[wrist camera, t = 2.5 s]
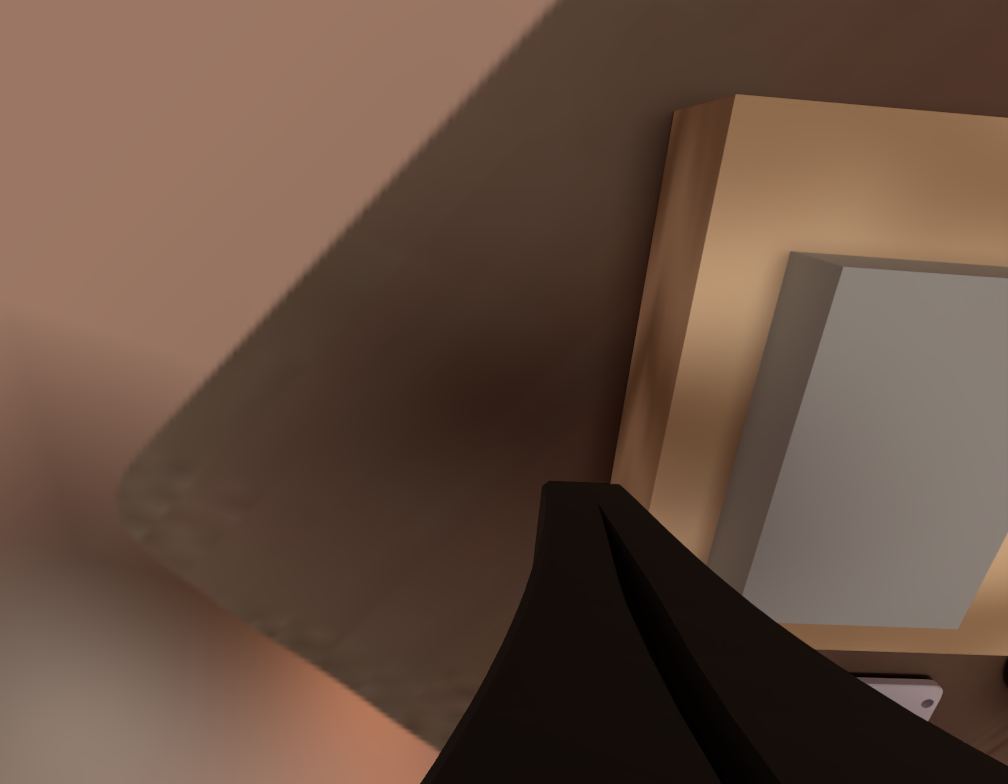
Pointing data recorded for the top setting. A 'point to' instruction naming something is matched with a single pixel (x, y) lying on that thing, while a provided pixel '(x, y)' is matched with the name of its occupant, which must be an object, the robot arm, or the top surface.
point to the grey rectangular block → (873, 445)
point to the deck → (757, 282)
